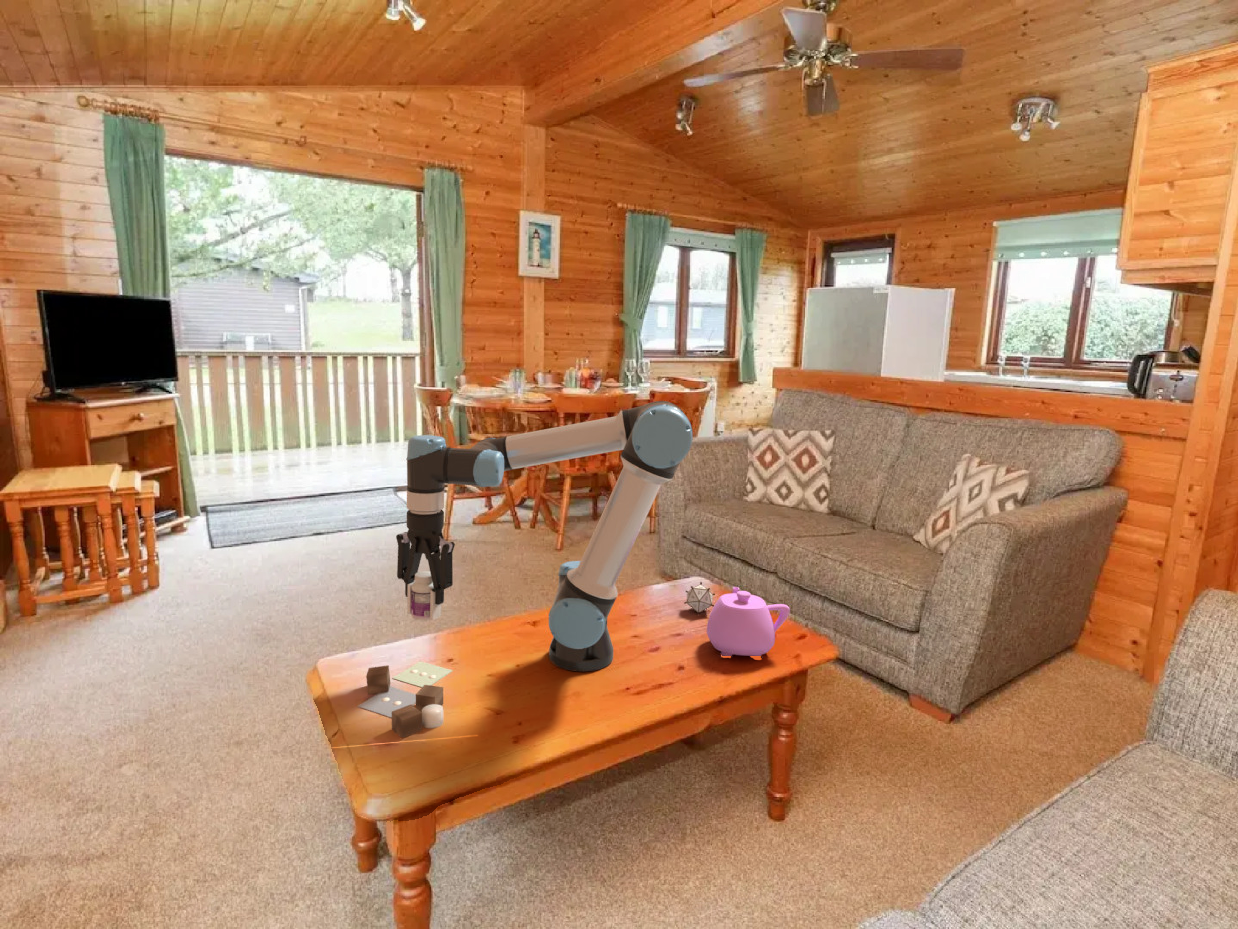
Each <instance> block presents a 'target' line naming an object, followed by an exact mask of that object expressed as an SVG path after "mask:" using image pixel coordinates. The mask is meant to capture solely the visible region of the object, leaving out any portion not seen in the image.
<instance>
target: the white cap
mask: <svg viewBox="0 0 1238 929" xmlns="http://www.w3.org/2000/svg"><path fill="white" fill-rule="evenodd" d="M443 724H444V707H443V705H442V706H441V705H437V704H432V705H428V706H425V707H424V708H423V709H422V727H423V728H425V729H436V728H439V727H441V726H442V725H443Z"/></svg>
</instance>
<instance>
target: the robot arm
mask: <svg viewBox="0 0 1238 929" xmlns="http://www.w3.org/2000/svg"><path fill="white" fill-rule="evenodd" d="M693 438H694V437H693V429H692V424H691V422H690V419H689V418H688V416H687V415H686V414H685V413H684V412H683V410H682V409H681V408H680V407H679V406H677V405H676V404H674V403H672V402H670V401H666V400H665V401H664V400H658V401H657V400H656V401H653V402H649V403H646V404H643V405H640V406H636V407H633V408H627V409H622V410H620V411H619V412H618V414H617V415H616V416H611V417H610V416H609V417H605V418H599V419H593V420H590V421H589V420H587V421H583V422H578V423H572V424H567V425H562V426H557V427H551V428H550V427H549V428H546V429H545V428H544V429H540V430H535V431H528V432H524V433H523V432H522V433H517V434H513V435H508V436H503V437H498V438H495V437H488V438H484V439H481V440H479V441H478V442H477V443H476V444H475V445H473V446H471V447H470V448H463V447H462V448H459V447H450V446H447V444H446V439H445V438H444V437H443V436H439V435H432V434H424V435H423V434H421V435H415V436H414V435H413V436H411V437H410V438H409V439H408V442H407V452H406V453H407V454H406V480H407V482H406V483H407V485H406V509H407V511H406V528H407V529H408V530H407V531H405V532H401V533H398V534H396V543H397V565H396V566H397V568H396V569H397V571H396V578H397V579H398V580H402V581H403V583H404V584H405V588H404V589H405V590H404V595H405V597H407V598H406V599H407V600H406V601H407V607H406V609H407V610H406V612H407V614H409V615H411V587H412V585H413V583H415V574H416V573H417V572H419V567H420V564H421V560H422V555H423V554H424V557H425V559H426V560H427V561H428V562H427V563H428V568H429V571H430V573H431V578H432V582H433V587H434V589H431V590H430V620H429V621H434V620H436V619H438V618H439V617H441V616H442V604H443V603H444V602H445V590H446V589H449V588H450V587H452V586H453V583H454V582H453V580H454V579H453V574H454V573H453V551H454V549H455V545H456V544H455V542H454V541H450V542H449V541H447V540H446V539H444V537H445V536H444V535H443V528H444V525H445V511H444V510H443V509H444V508H445V484H448V485H460V486H472V487H473V486H475V487H481V488H487V487H492V488H493V487H498V486H500V485H501V484H502V482H503V478H504V475H505V474H504V472H506V471H512V470H516V469H521V468H526V467H534V466H538V465H543V464H545V465H546V464H550V463H556V462H560V461H561V462H562V461H567V460H572V459H577V458H584V457H589V456H594V455H600V454H601V455H602V454H606V453H611V452H616V451H622V452H621V454H620V459H621V462H622V466H623V467H622V470H621V471H620V474H619V476H618V478H617V481H615V482H616V483H615V485H614V487H613V489H612V491H611V493H610V496H609V498H608V500H607V502H606V505H605V507H604V509H603V511H602V514H600V516H599V517H600V518H599V520H598V521H597V524H596V527H595V528H594V530H593V533H592V536H591V537H590V539H589V542H588V543H587V546H586V549H585V551H584V553H583V555H582V557H581V559H580V560H572V561H571V560H570V561H567V562H563V563H562V564H561V565H560V566H559V569H558V570H559V571H558V573H557V574H558V575H557V576H558V587H557V592H556V594H555V598H554V601H553V604H552V607H551V608H550V609H549V610H550V611H549V613H548V628H549V631H550V634H551V635H552V639H551V642H550V644H549V650H548V658H549V660H550V662H551V663H552V664H553V665H555V666H556V667H558V668H560V669H563V670H566V671H572V672H592V671H598V670H601V669H603V668H606V667H608V666H609V665H611V664H612V662H613V661H614V644H613V642H612V639H611V636H610V632H609V629H608V617H609V615H610V613H611V610H612V608H613V606H614V604H615V601H616V599H617V597H618V594H619V593H618V589H617V587H616V583H617V581H618V578H619V576H620V574H621V572H622V570H623V569H624V568H623V567H624V566H625V563H626V561H627V559H628V557H629V554H630V553H631V550H632V548H633V546H634V544H635V542H636V540H637V538H638V535H639V533H640V531H641V529H642V527H643V525H644V523H645V521H646V518H647V516H648V515H649V512H650V510H651V508H652V506H653V503H654V501H655V499H656V497H657V496H658V493H659V491H660V489H661V487H662V485H663V484H665V483H667V482H670V481H672V480H673V479H674V476H675V474H676V473H677V470H678V468H679V466H680V464H681V462H682V461H683V460H684V459H685V458H686V456H688V454H689V452H690V450H691V448H692V444H693V440H694V439H693Z"/></svg>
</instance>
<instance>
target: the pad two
mask: <svg viewBox="0 0 1238 929" xmlns="http://www.w3.org/2000/svg"><path fill="white" fill-rule="evenodd" d="M416 694H417V693H413V692H409V691H406V690H404V689H400V688H396V687H393V686H391V685H390V687H389V692H382V693H375V694H374V695H373V696H372V697H370V698H369V699H367V700H365V701H364V702H362V703H360V704H359V705H357V708H360V709H363V710H366V711H369V712H372V713H375V714H377V715H381V716H384V717H386V718H387V717H388V718H390V719H392V711H395V710H397V709H400V708H403V707H405V706H408V705H410V704H411V705H413V706H414V705H416Z"/></svg>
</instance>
